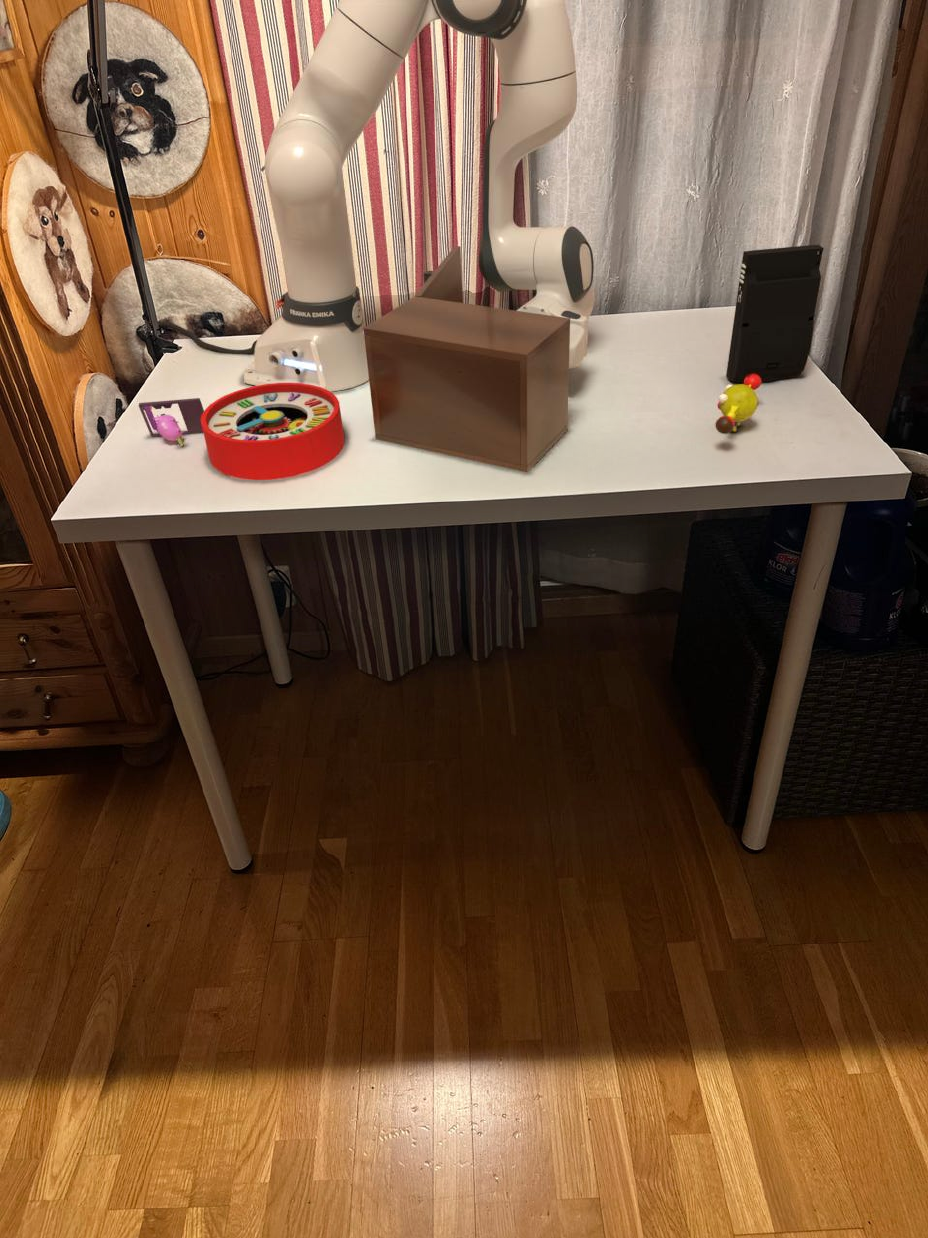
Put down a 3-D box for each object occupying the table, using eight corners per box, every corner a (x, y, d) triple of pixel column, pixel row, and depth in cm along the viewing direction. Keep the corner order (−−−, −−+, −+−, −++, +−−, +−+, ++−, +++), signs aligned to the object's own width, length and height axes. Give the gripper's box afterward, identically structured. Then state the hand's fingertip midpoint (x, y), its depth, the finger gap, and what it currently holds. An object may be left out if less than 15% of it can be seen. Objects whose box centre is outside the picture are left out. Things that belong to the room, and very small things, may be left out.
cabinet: (423, 402, 147) (415, 296, 137) (567, 431, 137) (570, 318, 127) (375, 439, 138) (363, 328, 127) (527, 473, 128) (526, 354, 117)
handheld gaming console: (794, 369, 151) (817, 243, 139) (806, 381, 147) (831, 251, 135) (723, 377, 150) (740, 250, 138) (733, 388, 146) (752, 259, 134)
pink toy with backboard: (199, 394, 137) (138, 399, 137) (198, 419, 134) (135, 424, 134) (210, 426, 143) (152, 431, 142) (209, 451, 140) (149, 456, 140)
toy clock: (367, 408, 133) (248, 457, 122) (371, 445, 136) (256, 495, 126) (289, 371, 145) (175, 412, 135) (295, 406, 148) (184, 448, 138)
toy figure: (730, 401, 143) (736, 359, 139) (767, 407, 141) (774, 364, 136) (697, 452, 130) (703, 407, 126) (736, 459, 128) (743, 414, 124)
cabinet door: (390, 397, 149) (380, 294, 139) (431, 340, 168) (424, 245, 158) (428, 400, 148) (420, 295, 137) (464, 341, 167) (460, 245, 156)
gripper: (480, 301, 151) (438, 330, 142) (597, 318, 143) (561, 350, 134) (481, 339, 155) (441, 369, 146) (595, 357, 147) (560, 391, 137)
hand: (499, 360), depth 139 cm, fingers closed on supplement bottle, 5 cm apart
